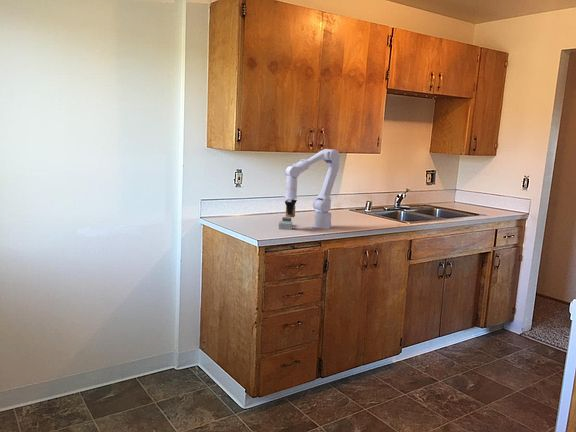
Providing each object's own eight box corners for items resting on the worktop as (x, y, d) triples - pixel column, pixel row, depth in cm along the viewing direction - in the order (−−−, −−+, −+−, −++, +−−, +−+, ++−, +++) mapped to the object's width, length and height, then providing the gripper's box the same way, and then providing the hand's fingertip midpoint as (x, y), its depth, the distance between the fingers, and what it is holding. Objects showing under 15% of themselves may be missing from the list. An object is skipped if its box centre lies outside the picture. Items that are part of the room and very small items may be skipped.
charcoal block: (291, 225, 278) (291, 217, 278) (290, 226, 274) (290, 218, 273) (283, 224, 279) (283, 216, 278) (282, 226, 274) (282, 218, 274)
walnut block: (294, 215, 268) (295, 205, 267) (293, 217, 263) (294, 207, 262) (286, 215, 268) (287, 205, 267) (285, 216, 264) (286, 206, 263)
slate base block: (292, 227, 272) (292, 221, 271) (291, 230, 265) (291, 223, 264) (279, 227, 272) (279, 221, 272) (278, 229, 265) (278, 223, 265)
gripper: (285, 186, 271) (284, 211, 273) (282, 189, 257) (281, 215, 259) (298, 187, 270) (297, 211, 272) (295, 190, 256) (294, 216, 258)
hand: (290, 213), depth 265 cm, fingers closed on walnut block, 4 cm apart
